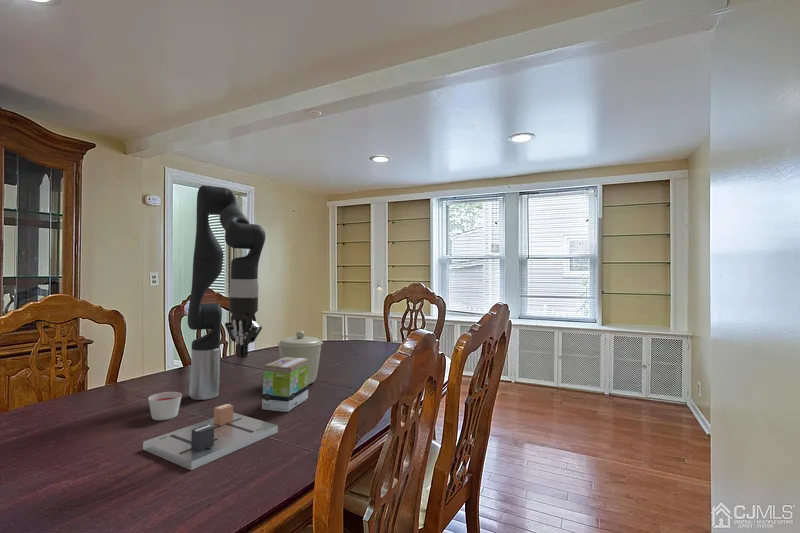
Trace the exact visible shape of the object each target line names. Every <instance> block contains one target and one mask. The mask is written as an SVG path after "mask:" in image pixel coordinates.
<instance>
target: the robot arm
mask: <svg viewBox="0 0 800 533" xmlns="http://www.w3.org/2000/svg"><path fill="white" fill-rule="evenodd" d="M196 195H197V196H196V228H195V229H196V232H195V239H194V240H195V242H194V250H193V259H192V278H191V279H192V280H191V281H192V282H191V291H190V296H189V297H190V298H189V303H188V311H187V327H189V329H190V330H194V331H199V330H200V331H201V330H209V331H208V332H207V333H205V334H204V335H203V336H201V337H198V338H196V339H193V341H192V342H191V361H190V362H191V363H190V365H191V366H190V370H189V386H188V387H189V388H188V392H189V393H188V395H189V397H190V399H192V400H197V401H199V400H200V401H202V400H210V399H214V398H216V397H218V396H219V395H220V393H219V392H220V368H221V366H220V364H221V363H220V362H221V361H220V359H221V358H220V357H221V356H220V355H221V333H222V332H221V331H222V322H223V321H222V320H223V310H222V306H221V304H219V302H218V303H217V302H212V303H210V302H209V303H202V300H203V297H204V296H205V293H206V292H207V290H208V289H209V288H210V287H211V286H212V285H213V283H214V282H215V281H216V280H217V279H218V277H219V276H220V275H221V273H222V270H223V262H224V251H223V249H222V246H221V244H220V243H219V241H218V239H217V238H216V236H215V234H214V232H213V230H212V228H211V226H210V221H209V215H215V216H219V222H220V223H219V224H220V225H221V227H222V228H223V230H224V231H225V232H224V241H225V243H226V245H227V246H228V247H229V248H232V249H242V250H249V251H248V253H247V254H246V255H244V256H239V257H235V258H233V259H231V262H230V283H229V287H228V290H229V291H228V292H229V294H228V296H229V297H228V312H229V313H230V314H231V317H230V320H229V322H225V323H224V326H225V329H226V331H227V333H228V336H229V338H230V340H231V342H235V344H236V355H237V359H246V358H248V355H249V344H253V343H254V342H255V341H256V339H257V337H258V336H259V334H260V333H261V331H262V329H263V326H262V325H261V324H260V325H258V323H257V318H256V313H258V311H259V310H258V309H259V282H258V275H259V270H258V269H259V262H260V258H261V254H262V250H263V249H264V245H265V242H266V232H265V228H263V226H262V225H260V224H257V223H256V224H253V223H250V221H249V219H248V218H247V216H245V214H244V213H243V212H242V211H241V209H240V205H239V202H238V201H237V198H236V196H235V193H234V192H233V191H232V189H229V188H227V187H221V186H213V185H201V186H199V188H198V190H197V194H196Z"/></svg>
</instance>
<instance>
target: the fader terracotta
mask: <svg viewBox="0 0 800 533" xmlns="http://www.w3.org/2000/svg"><path fill="white" fill-rule="evenodd" d="M233 413H234V405H232V404H230V403H229V404H228V403H225V404H221V405H218V406H216V407H213V418H214V424H217V425H220V426H221V425H224V424H227V423H230V422H232V421H233Z"/></svg>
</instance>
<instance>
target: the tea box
mask: <svg viewBox="0 0 800 533" xmlns="http://www.w3.org/2000/svg"><path fill="white" fill-rule="evenodd" d="M309 385H310V384H309V359H306V358H293V357H284V358H281V359H280V358H279V359H276V360H275V361H272V362H269V363H267V364H263V380H262V399H261V400H262V402H261V410H266V411H273V412H275V411H276V412H284V413H285V412H286V413H288V412H290V411H291V410H293V409H294V408H295V407H297V406H298V405H300V404H302V403H303V402H306V399H307V400H308V399H309Z"/></svg>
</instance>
